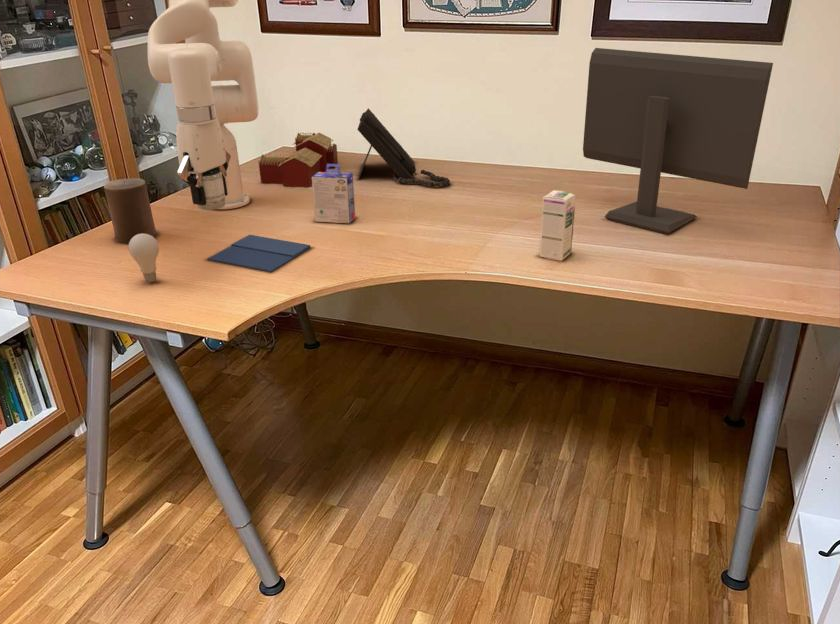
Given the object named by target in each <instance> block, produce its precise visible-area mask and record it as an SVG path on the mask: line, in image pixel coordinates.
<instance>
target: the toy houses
mask: <svg viewBox="0 0 840 624" xmlns="http://www.w3.org/2000/svg"><path fill="white" fill-rule="evenodd" d="M294 140H295V141H294V142H293V143H292V145H293V151H295V152H293V153H291V154H289V155H287V154H285V155H284V154H282V155H281V154H262V153H261V156H260V159H259V160H258V167H259V168H258V169H257V170H256V171H255V173H259V177H260V183H261V184H279V185H280V184H281V185H282V187H299V188H300V187H301V188H311V187H312V176H314V175H315V174H316V173H317V172H326V167H327V164H339V159H338V148H337V147H338V146H337V144H336V143H332V142H334V139H332V138H331V137H330V136H327V135H325V134H323V133H321V132H317V133H315V132H297V134H296V136H295V138H294ZM328 169H331V170H336V167H334V166H333V167H329V168H328Z"/></svg>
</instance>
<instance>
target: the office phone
mask: <svg viewBox="0 0 840 624" xmlns="http://www.w3.org/2000/svg"><path fill="white" fill-rule="evenodd" d="M357 131H358V133H360V135H361V136H362V137H363V138H364V139H365V140H366V141H367V143H369V145H370V147H369V148H368V151H367V153H366V156H365V158H364V160H363V163H362V166H361V170H360V173H359V177H358V178H360V177H361V175H362V172H363V169H364V167H365V165H366V162H367V160H368V157H369V155H370V153H371V150H372V148H373V150H375V152H376V153H377V154H378V155H379V156H380V157H381V158H382V160H384V162H385V163H386V164H387V165H388V166H389V167H390V168H391V170H392V171H393V173H392V174H393V180H395V181H396V182H399V183H401V185H402V184H403V185H404V184H406V185H408V184H409V185H412V184H413V185H416V184H417V185H422V186H423V185H424V186H426V187H427V186H429V187H432V188H435V187H436V188H440V187H448V186H449V185H450V182H451V180H450V179H449V178H448V177H445V176H440V175H436V174H434V173H433V172H430V171H429V170H428V171H427V170H425V169H421V170H420V173H416V172H417V169H416V164H415V160H414V159H413V158H412V156H411V155H410V154H408V152H407V151H406V150H405V149H404V148H403V146H402V145H401V144H400V142H398V141H397V139H396V138H395V137H394V136H393V135H392V134H391V133H390V131H389V130H388V129H387V127H386V126H384V125H383V124H382V122H381V121H380V120H379V119H378V116H377V117H376V115H375V114H374V113H373V111H372V110H371V109H370V107H369V108H367V109H366V111H364V112H362V114H361V116H360V118H359V123H358V127H357ZM395 174H396V175H397V176H398V178H397V177H396V176H395ZM414 175H422V176H427V177H428V178H430V179H431V180H433V181H431V180H425V179H420V178H418V179H417V178H414Z"/></svg>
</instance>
